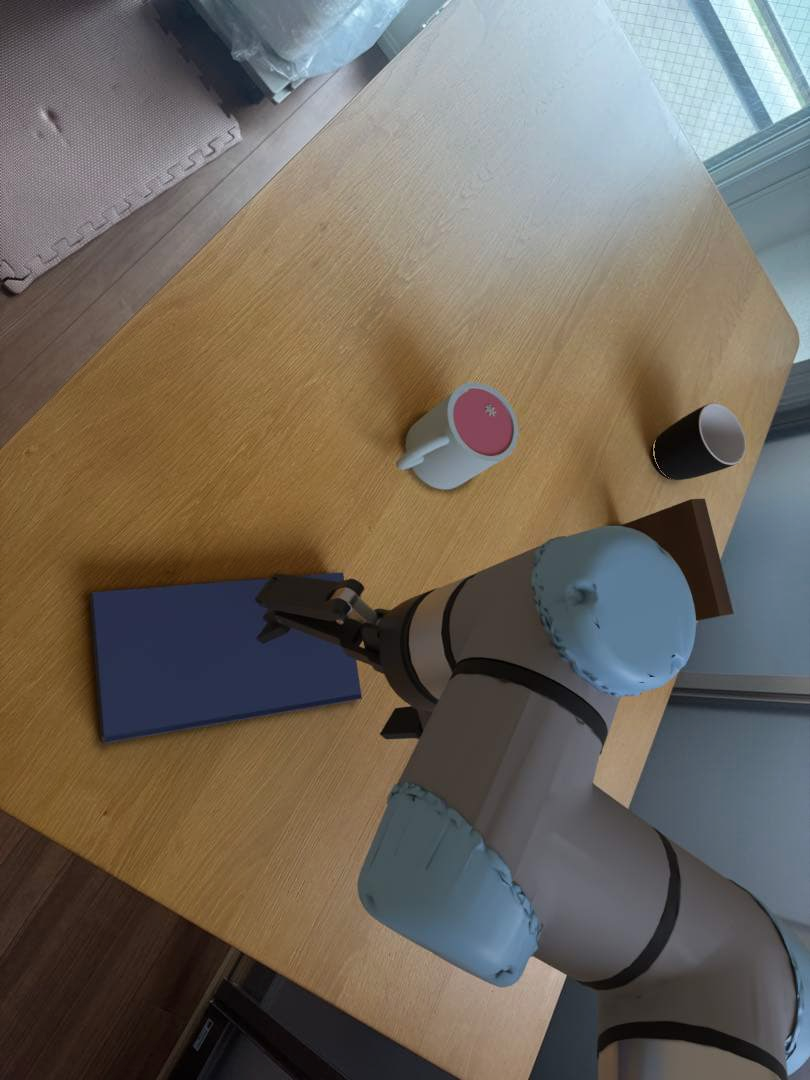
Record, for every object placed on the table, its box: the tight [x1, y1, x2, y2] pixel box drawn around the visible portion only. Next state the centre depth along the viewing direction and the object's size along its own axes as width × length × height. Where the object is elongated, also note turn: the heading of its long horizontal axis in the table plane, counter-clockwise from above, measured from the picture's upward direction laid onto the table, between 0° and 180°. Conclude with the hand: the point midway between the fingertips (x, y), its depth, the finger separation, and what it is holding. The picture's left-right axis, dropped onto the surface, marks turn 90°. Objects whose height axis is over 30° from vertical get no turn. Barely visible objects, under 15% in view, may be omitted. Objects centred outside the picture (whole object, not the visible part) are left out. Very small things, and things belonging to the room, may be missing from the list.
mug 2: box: [650, 402, 747, 481], centre depth 103 cm, size 12×9×10 cm
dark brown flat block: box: [619, 498, 735, 622], centre depth 91 cm, size 2×14×14 cm, turn 9°
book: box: [89, 572, 363, 744], centre depth 70 cm, size 24×13×3 cm, turn 99°
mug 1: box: [395, 381, 519, 490], centre depth 83 cm, size 14×9×10 cm
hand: (330, 677), depth 62 cm, fingers open, 13 cm apart
